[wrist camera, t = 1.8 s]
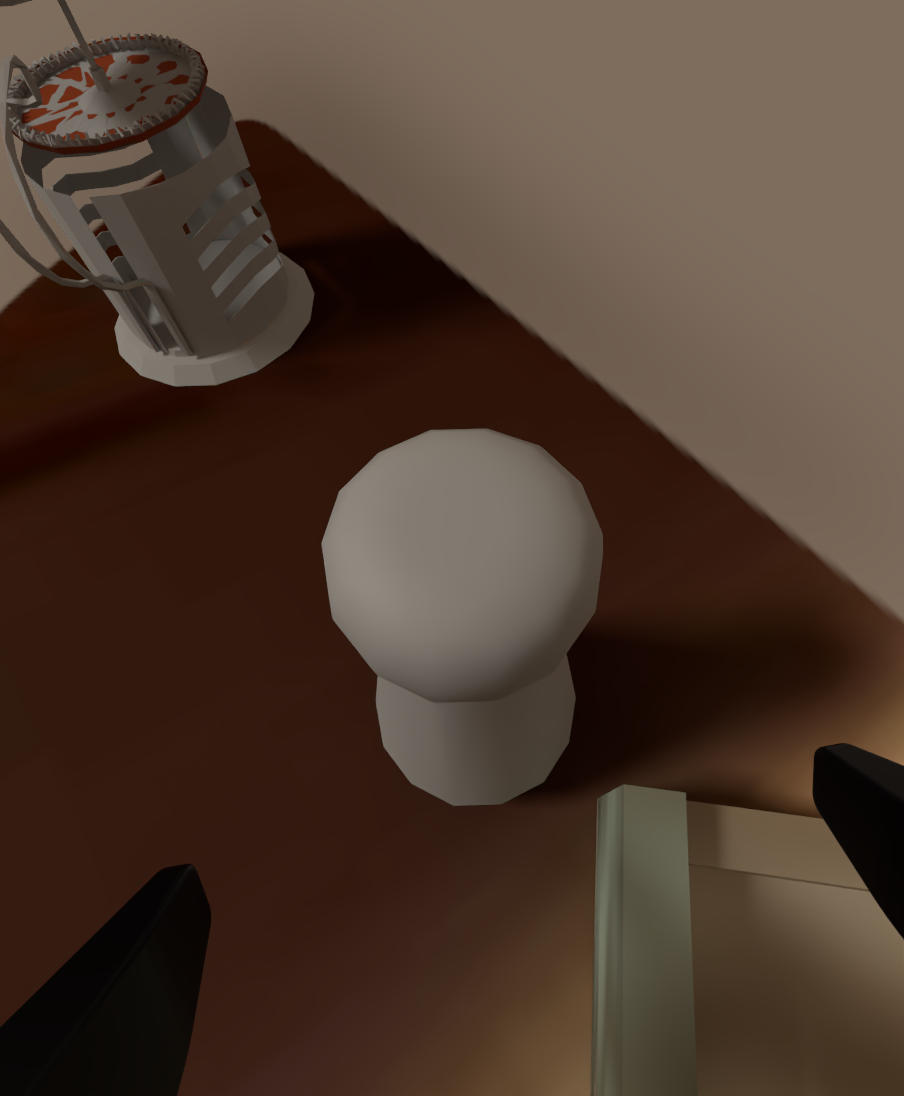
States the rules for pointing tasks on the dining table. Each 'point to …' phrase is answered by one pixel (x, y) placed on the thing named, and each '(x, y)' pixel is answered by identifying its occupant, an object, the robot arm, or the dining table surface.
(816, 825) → the maple tray
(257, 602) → the dining table surface
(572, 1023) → the dining table surface
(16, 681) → the dining table surface
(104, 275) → the french press
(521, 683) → the salt shaker
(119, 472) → the dining table surface
